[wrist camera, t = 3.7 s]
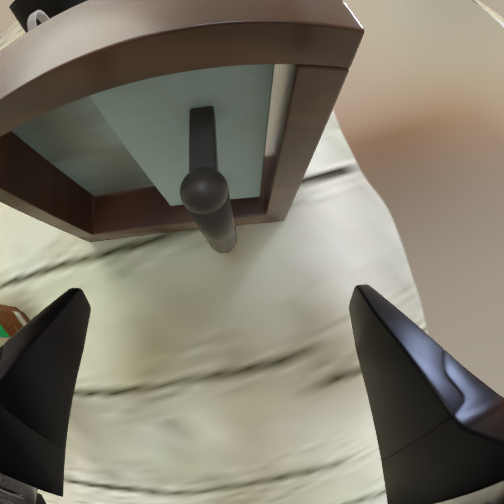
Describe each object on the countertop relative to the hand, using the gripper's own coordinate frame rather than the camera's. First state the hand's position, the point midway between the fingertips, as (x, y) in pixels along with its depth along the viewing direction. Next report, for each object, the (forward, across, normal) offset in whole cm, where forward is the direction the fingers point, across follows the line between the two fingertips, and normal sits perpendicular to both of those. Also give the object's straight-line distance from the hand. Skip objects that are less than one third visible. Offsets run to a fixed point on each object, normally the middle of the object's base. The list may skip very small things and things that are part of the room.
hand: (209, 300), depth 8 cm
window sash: (+9, +1, +2) cm, 9 cm away
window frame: (+12, +4, +2) cm, 13 cm away
